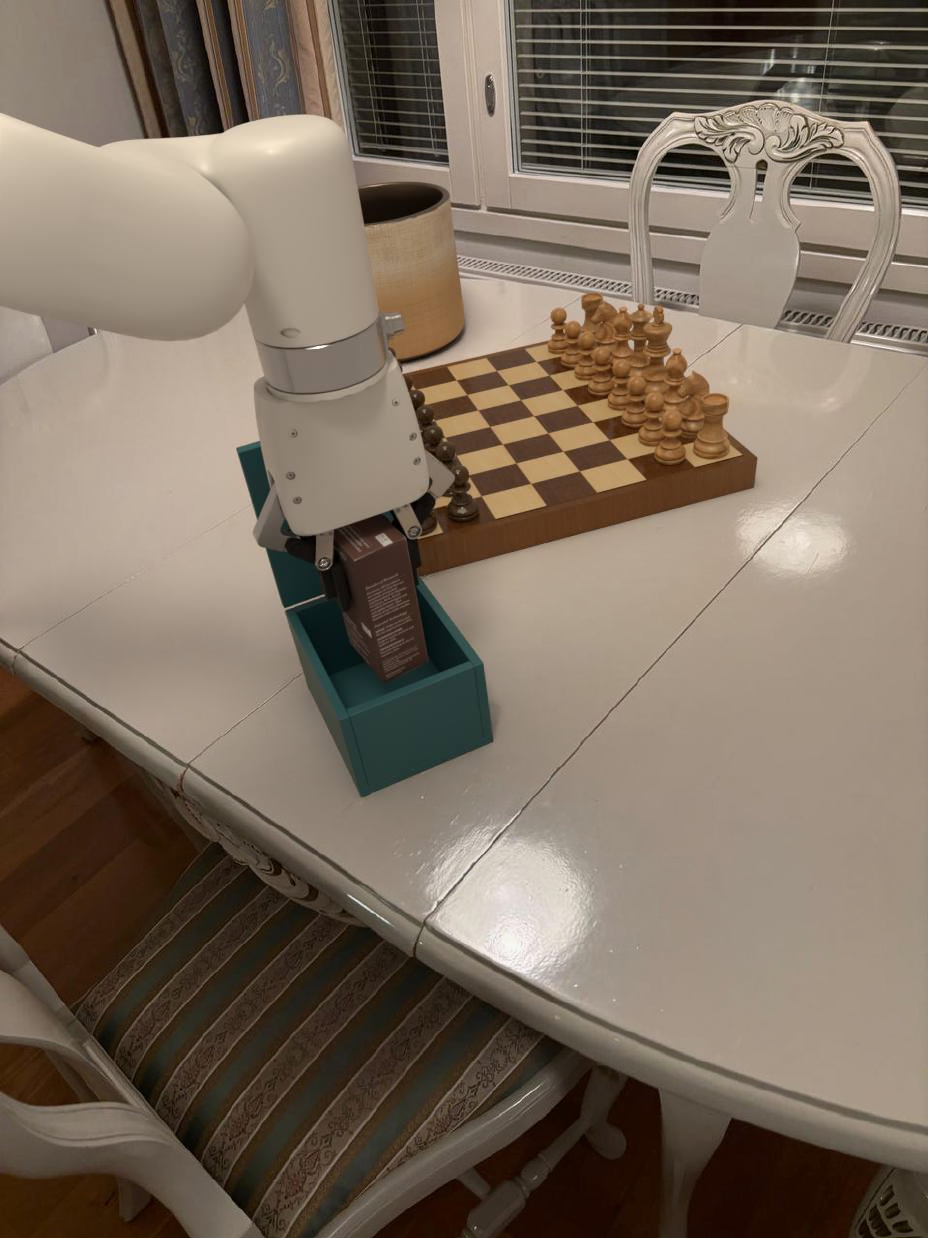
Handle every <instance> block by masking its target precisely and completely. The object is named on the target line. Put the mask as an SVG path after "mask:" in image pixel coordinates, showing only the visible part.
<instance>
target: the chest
mask: <svg viewBox="0 0 928 1238" xmlns="http://www.w3.org/2000/svg"><path fill="white" fill-rule="evenodd" d="M417 576H418V581H419V585H418V586H415V588H416V594H417V599H418V604H419V610H420V616H421V621H422V627H423V632H424V638H425V643H426V649H427V655H428V659H429V660H428V662H427V663H425V664H423V665H422V666H420V667H417V668H416V669H414V670H412V671H409V672H408V673H405V674H403V675H401V676H399V677H397V678H394V679H392V680H390V681H388V682H385V683H382V682H381V681H380V679H379V678H378V677H377V675H376V674H375V673H374V671H373V670H372V669H371V668H370V666H369V665H368V664H367V663H366V662H365V661H364V659H363V658H362V657H361V656H360V655H359V653H358V652H357V651H356V650H355V649H354V648H353V647H352V645H351V644H350V642H349V638H348V635H347V631H346V626H345V623H344V619H343V614H342V611H341V609H340V607H339V605H338V603H337V602H336V600H335V598H333V599H330V600H327V599H326V597H325V595H322V596H319V597H317V598H314V599H311V600H308V601H305V602H303V603H300V604H299V605H298V604H297V605H294V606H293V607H289V608H288V609H287V608H286V609H285V610H284V614H285V617H286V620H287V624H288V627H289V630H290V634H291V636H292V640H293V643H294V646H295V650H296V653H297V656H298V660H299V663H300V666H301V669H302V672H303V675H304V678H305V683H306V686H307V687H308V690H309V692H310V693H311V696H312V698H313V700H314V702H315V704H316V706H317V708H318V711H319V712H320V714H321V717H322V719H323V721H324V723H325V725H326V728H327V729H328V731H329V733H330V735H331V738H332V739H333V742H334V744H335V746H336V748H337V750H338V752H339V755H340V756H341V758H342V761H343V763H344V765H345V767H346V768H347V771H348V773H349V775H350V777H351V779H352V782H353V784H354V786H355V789H356V790H357V792H358V794H359V796H360V797H361V798H363V797H366V796H367V795H370V794H372V793H375V792H377V791H379V790H382V789H384V788H387V787H388V786H389V787H390V786H391V785H394V784H396V783H398V782H401V781H403V780H405V779H407V778H410V777H412V776H414V775H417V774H419V773H421V772H424V771H426V770H429V769H431V768H434V767H436V766H438V765H441V764H443V763H445V762H448V761H450V760H452V759H455V758H457V757H460V756H462V755H464V754H467V753H469V752H472V751H473V750H476V749H478V748H481V747H483V746H486V745H488V744H491V743H492V742H494V736H493V727H492V721H491V720H492V719H491V712H490V704H489V697H488V695H489V694H488V687H487V681H486V680H487V679H486V671H485V665H484V662H483V660H482V659H481V658H480V656H479V655H478V653H476V651H475V649H474V648H473V647H472V646H471V644H470V643H469V642H468V639H467V638H466V637H465V636H464V635H463V633H462V632H461V630H460V629H459V628H458V626H457V625H456V623H455V622H454V621H453V619H452V618H451V617H450V616H449V614H448V613H447V612H446V610H445V609H444V608H443V606H442V605H441V604H440V602H439V600H438V599H437V598H436V597H435V595H434V594H433V592H432V591H431V590H430V589H429V587H428V586H427V585H426V583H425V581H424V580H423V579H422V578H421V576H419V575H418V574H417Z"/></svg>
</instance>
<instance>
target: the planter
mask: <svg viewBox="0 0 928 1238" xmlns="http://www.w3.org/2000/svg"><path fill="white" fill-rule="evenodd" d="M357 187H358V192H359V198H360V204H361V210H362V216H363V222H364V227H365V233H366V239H367V245H368V251H369V257H370V263H371V268H372V274H373V280H374V286H375V292H376V298H377V304H378V310H379V311H380V312H381V313H385V312H386V313H388V314H390V313H394V312H399V313H400V314H401V316H402V319H403V322H404V328H405V331H404V333H403V334H399V335H396V336H394V338H393V339H390V340H389V345H388V347H391V348H393V349H394V350H395V352H396V360H397V361H398V362H400V363H402V362H407V361H408V362H409V361H411V360H416V359H419V358H423V357H425V356H428V355H431V354H434V353H436V352H437V351H440V350H442V349H443V348H445V347H447V346H448V345H449V344H450V343H452V342H453V341H454V340H455V339H456V338H457V337H458V336H460V333H461V332H462V331H463V329H464V326H465V310H464V302H463V293H462V285H461V278H460V277H461V276H460V268H459V262H458V253H457V246H456V245H457V244H456V237H455V228H454V220H453V219H454V218H453V211H452V203H451V195H450V192H449V190H448V189H446V187H443V186H441V185H438V184H435V183H431V182H424V181H389V182H388V181H387V182H378V183H370V184H364V185H360V186H359V185H357Z"/></svg>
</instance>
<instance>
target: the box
mask: <svg viewBox="0 0 928 1238" xmlns="http://www.w3.org/2000/svg"><path fill="white" fill-rule="evenodd" d="M333 553H334V555H335V557H336V558H337V560H338V561H339V563H340V565H341V566H342V569H343V573H344V577H345V581H346V585H347V589H348V593H349V597H350V601H351V605H352V608H350V610H349V611H346V612H344V613H343V612H342V614H343V619H344V623H345V626H346V631H347V635H348V638H349V642H350V644H351V645H352V647H353V648H354V649H355V650H356V651H357V652H358V653H359V655H360V656H361V657H362V658H363V659H364V661H365V662H366V663H367V664H368V665H369V666H370V668H371V669H372V670H373V671H374V673H375V674H376V675H377V677H378V678H379V679H380V681H381V682H382V683H385V682H388V681H390V680H392V679H394V678H397V677H399V676H401V675H403V674H405V673H408V672H409V671H412V670H414V669H416V668H417V667H420V666H422V665H423V664H425V663H427V662H428V660H429V659H428V655H427V649H426V643H425V638H424V632H423V627H422V621H421V616H420V610H419V604H418V599H417V594H416V588H415V583H414V578H413V572H412V566H411V561H410V556H409V551H408V545H407V540H406V537H405V536H404V535H402V534H401V533H400V532H399V531H398V530H397V529H396V528H395V527H394V526H393V525H392V524H391V522H390V520H389V519H388V518H387V517H386V516H384V515H382V514H378V515H375V516H373V517H370V518H367V519H364V520H361V521H358V522H355V523H352V524H349V525H346V526H343V527H340V528H337V529H334V546H333ZM341 611H342V610H341Z"/></svg>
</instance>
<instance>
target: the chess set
mask: <svg viewBox="0 0 928 1238" xmlns="http://www.w3.org/2000/svg"><path fill="white" fill-rule="evenodd" d="M580 304H581V310H583V311H584V320H583V324H582V325H581V324H580V322H578V321H576V320H570V321H568V322H566V321H567V317H568V313H567V310H566V309H564V308H562V307H556V308H553V309H552V310H551V312H550V320H551V322H552V323H551V325H550V328H551V329H552V330H553V331H554V333H553V334H552V335H551V336H550V339H549V340H545V341H539V342H536V343H532V344H528V345H522V346H518V347H514V348H509V349H506V350H505V349H504V350H500V351H496V352H492V353H488V354H484V355H479V356H475V357H471V358H465V359H462V360H457V361H453V362H448V363H444V364H440V365H435V366H431V367H427V368H423V369H418V370H413V371H409V372H405V373H403V371H404V370H403V365H402V362H398V361H397V362H398V365H399V367H400V369H401V372H402V374H403V377H404V380H405V382H406V385H407V388H408V391H409V394H410V398H411V401H412V404H413V407H414V411H415V414H416V418H417V421H418V425H419V429H420V433H421V437H422V441H423V445H424V449H425V450H427V451H428V452H429V453H430V454H431V455H433V456H434V457H435V458H436V459H438V460H439V461H440V462H441V463H442V464H444V465H445V466H446V467H447V468H448V469H449V470H450V471H451V472H452V473H453V474H454V476H455V480H454V482H453V483H452V484H451V486H450V487H449V488H448V489H447V490H446V491H445V492H444V494H443V495H442V496H441V497H440V498H438V499H437V500H436V504H435V506H434V508H433V509H432V511H431V512H430V514H429V515H428V517H427V518H426V520H425V521H424V523H423V524H422V526H421V528H422V533H421V535H420V536H419V537H418V538H417V540H418V546H419V552H420V557H421V563H422V566H421V567H419V568H416V570H417V574H418V575H419V576H420V577H422V576H426V575H429V574H430V575H431V574H434V573H437V572H441V571H444V570H449V569H452V568H453V569H454V568H457V567H461V566H464V565H467V564H472V563H476V562H480V561H483V560H486V559H491V558H494V557H498V556H501V555H505V554H508V553H513V552H517V551H520V550H523V549H524V550H525V549H527V548H532V547H535V546H539V545H542V544H546V543H550V542H555V541H557V540H561V539H564V538H570V537H572V536H577V535H580V534H584V533H588V532H591V531H595V530H598V529H602V528H607V527H611V526H615V525H617V524H621V523H625V522H628V521H633V520H637V519H640V518H643V517H644V518H645V517H648V516H651V515H655V514H658V513H663V512H666V511H670V510H673V509H677V508H681V507H685V506H689V505H692V504H696V503H700V502H703V501H708V500H711V499H715V498H718V497H722V496H726V495H730V494H734V493H738V492H741V491H745V490H748V489H753V488H755V484H756V483H755V482H756V475H757V474H756V473H757V466H758V458H759V457H758V456H757V455H755V454H754V453H753V452H752V451H751V450H749V448H747V447H746V446H745V445H744V444H743V443H741V442H740V441H739V440H738V439H737V438H735V437H734V436H733V435H731V433H729V432H728V431H727V430H726V429H725V428H724V417H725V416H726V415H727V414H728V412H729V408H730V397H729V396H728V395H726V394H724V393H719V392H711V393H710V383H709V382H708V380H707V379H706V378H705V377H704V375H702V374H701V373H698V372H696V370H693V369H692V371H691V375H688V376H685V373H686V372H687V370H688V361H687V359H686V357H685V356H684V354H682V353H683V350H682V348H680V347H679V348H678V347H676V348H673V349H671V347H670V346H669V344H668V340H669V338H670V335H671V333H672V331H673V325H672V324H671V323H670V322H668V321H665V313H664V311H665V310H664V307H663V306H662V305H656V306H654V308H653V309H654V310H653V311H652V313H651V312H650V311H647V310H646V309H645V304H644V303H639V304H638V305H637V310H636V311H633V312H632V313H629V312H628V307H627V306H620V307H619V308H618V311H617V309H616V307H615V306H613V304H611V303H609V302H607V301H606V300H604V295H603V294H602V293H599V292H588V293H585V294H583V295H582V296H581V299H580ZM652 319H653V321H651V320H652ZM629 341H632V342H633V348H631V347H630V344H629ZM388 349H389V350H390V351H391V352H392V354H393V356H394V357H395V358H396V352H395V350H394V349H393V348H391V347H388ZM671 353H672V354H671ZM669 355H670V356H669ZM668 356H669V357H668ZM666 357H668V359H667V360H666V362H665V358H666Z"/></svg>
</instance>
